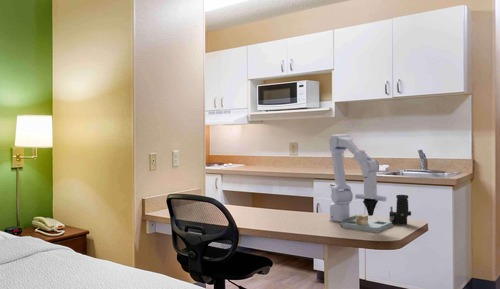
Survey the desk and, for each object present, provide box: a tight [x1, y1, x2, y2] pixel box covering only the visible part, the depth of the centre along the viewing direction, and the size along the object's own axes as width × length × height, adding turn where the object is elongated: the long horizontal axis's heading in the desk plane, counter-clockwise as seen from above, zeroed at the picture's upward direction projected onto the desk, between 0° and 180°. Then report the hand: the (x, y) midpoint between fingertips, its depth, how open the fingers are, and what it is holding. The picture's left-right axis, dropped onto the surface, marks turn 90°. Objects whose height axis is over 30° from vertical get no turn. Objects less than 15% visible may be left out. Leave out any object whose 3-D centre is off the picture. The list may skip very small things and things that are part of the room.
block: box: [355, 214, 369, 225], centre depth 193 cm, size 4×4×4 cm
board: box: [340, 214, 393, 234], centre depth 196 cm, size 18×16×4 cm
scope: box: [388, 194, 412, 226], centre depth 200 cm, size 8×14×10 cm
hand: (370, 215), depth 190 cm, fingers closed
